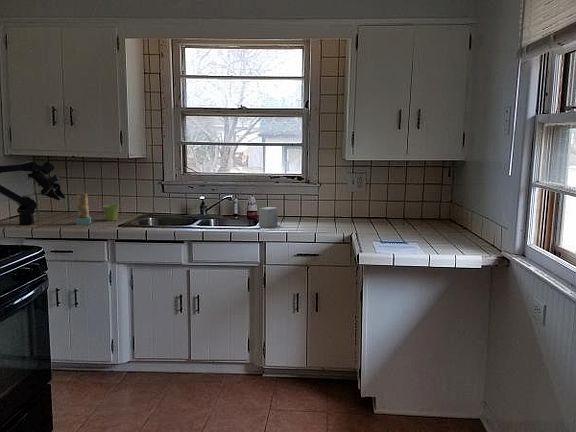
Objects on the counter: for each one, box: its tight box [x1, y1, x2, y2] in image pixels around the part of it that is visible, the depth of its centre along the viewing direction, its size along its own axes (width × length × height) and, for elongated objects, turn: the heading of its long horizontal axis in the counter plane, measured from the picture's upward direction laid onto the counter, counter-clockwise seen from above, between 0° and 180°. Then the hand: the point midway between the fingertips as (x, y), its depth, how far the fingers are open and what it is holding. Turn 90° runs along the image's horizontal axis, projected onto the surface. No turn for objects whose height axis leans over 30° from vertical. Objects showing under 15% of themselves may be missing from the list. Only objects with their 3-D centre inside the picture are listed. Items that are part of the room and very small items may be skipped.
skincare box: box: [258, 206, 279, 228], centre depth 301 cm, size 10×6×10 cm, turn 149°
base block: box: [75, 215, 92, 226], centre depth 302 cm, size 7×7×4 cm
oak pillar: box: [76, 193, 90, 217], centre depth 302 cm, size 4×4×13 cm
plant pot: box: [102, 204, 120, 222], centre depth 316 cm, size 9×9×9 cm
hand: (62, 199), depth 305 cm, fingers open, 9 cm apart
